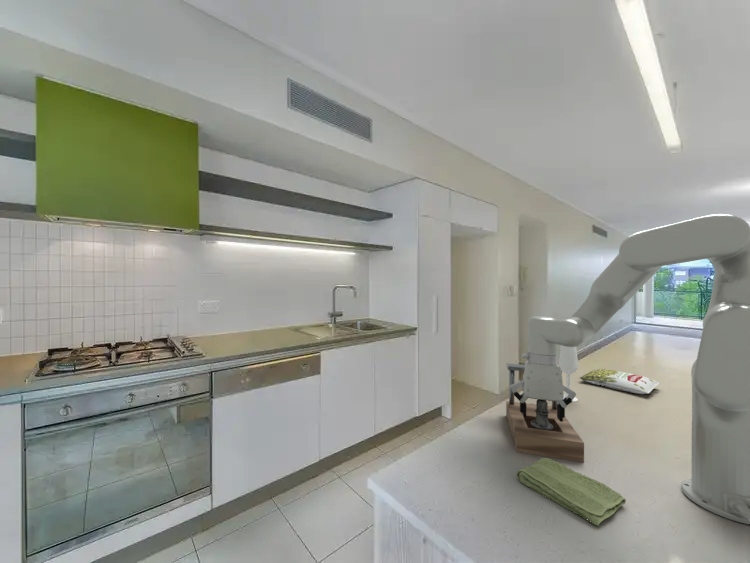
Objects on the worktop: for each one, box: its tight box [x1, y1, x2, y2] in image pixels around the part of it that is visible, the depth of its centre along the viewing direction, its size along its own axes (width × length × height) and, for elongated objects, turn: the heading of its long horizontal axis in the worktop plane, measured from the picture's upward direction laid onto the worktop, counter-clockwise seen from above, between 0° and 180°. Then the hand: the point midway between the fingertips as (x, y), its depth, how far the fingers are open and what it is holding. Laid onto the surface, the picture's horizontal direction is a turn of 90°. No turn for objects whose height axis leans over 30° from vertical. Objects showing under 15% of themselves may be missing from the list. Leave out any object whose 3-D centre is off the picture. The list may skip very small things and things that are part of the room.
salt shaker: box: [531, 399, 554, 431], centre depth 90 cm, size 6×6×12 cm
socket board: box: [505, 400, 585, 463], centre depth 93 cm, size 24×16×5 cm, turn 163°
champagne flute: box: [558, 345, 579, 402], centre depth 124 cm, size 7×7×24 cm
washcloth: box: [515, 457, 627, 527], centre depth 68 cm, size 13×18×3 cm
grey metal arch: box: [506, 362, 563, 410], centre depth 102 cm, size 4×16×13 cm, turn 73°
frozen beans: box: [579, 368, 661, 395], centre depth 139 cm, size 21×6×25 cm
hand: (541, 417), depth 90 cm, fingers open, 9 cm apart
